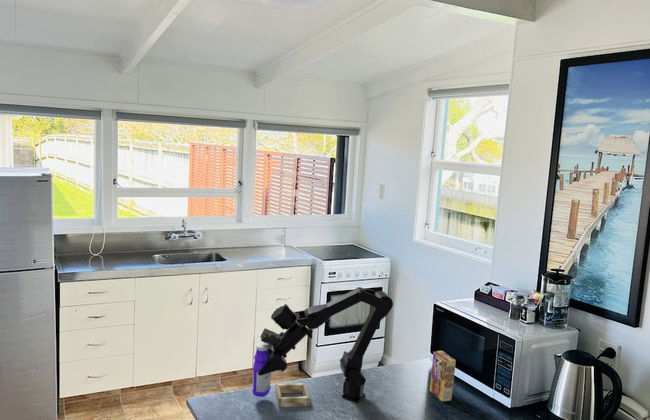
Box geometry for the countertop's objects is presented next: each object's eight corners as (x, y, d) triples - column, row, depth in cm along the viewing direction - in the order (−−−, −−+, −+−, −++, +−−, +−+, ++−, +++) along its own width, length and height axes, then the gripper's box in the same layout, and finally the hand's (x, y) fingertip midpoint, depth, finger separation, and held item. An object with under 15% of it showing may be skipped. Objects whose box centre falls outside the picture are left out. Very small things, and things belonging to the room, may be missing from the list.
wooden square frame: (304, 391, 199) (305, 383, 198) (309, 405, 188) (309, 397, 188) (275, 392, 196) (275, 384, 196) (278, 407, 186) (278, 398, 186)
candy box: (452, 400, 198) (456, 360, 196) (442, 402, 196) (446, 361, 194) (439, 389, 206) (443, 350, 204) (429, 390, 205) (432, 351, 202)
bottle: (266, 399, 186) (267, 350, 183) (249, 396, 187) (251, 347, 184) (272, 389, 193) (274, 341, 190) (256, 387, 194) (258, 339, 191)
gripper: (272, 312, 196) (240, 343, 195) (278, 332, 178) (242, 366, 177) (293, 333, 199) (261, 363, 198) (301, 354, 180) (266, 388, 180)
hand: (257, 369), depth 188 cm, fingers closed on bottle, 7 cm apart
